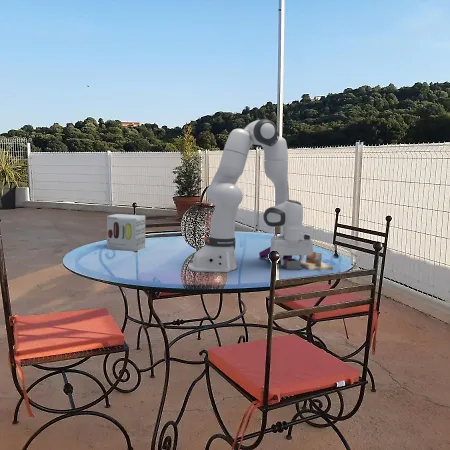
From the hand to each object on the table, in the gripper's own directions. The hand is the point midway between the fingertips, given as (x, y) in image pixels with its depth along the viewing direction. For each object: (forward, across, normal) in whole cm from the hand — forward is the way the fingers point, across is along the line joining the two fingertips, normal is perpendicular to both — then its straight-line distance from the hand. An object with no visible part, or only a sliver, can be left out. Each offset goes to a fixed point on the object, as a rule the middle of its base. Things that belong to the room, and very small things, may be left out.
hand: (290, 264), depth 213 cm
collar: (+2, 0, 0) cm, 2 cm away
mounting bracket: (+2, -2, +18) cm, 18 cm away
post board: (+2, +13, +2) cm, 13 cm away
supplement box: (+2, -73, +57) cm, 93 cm away
